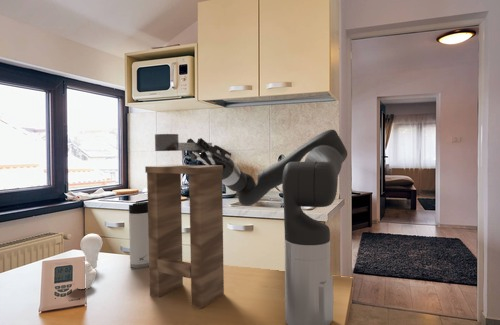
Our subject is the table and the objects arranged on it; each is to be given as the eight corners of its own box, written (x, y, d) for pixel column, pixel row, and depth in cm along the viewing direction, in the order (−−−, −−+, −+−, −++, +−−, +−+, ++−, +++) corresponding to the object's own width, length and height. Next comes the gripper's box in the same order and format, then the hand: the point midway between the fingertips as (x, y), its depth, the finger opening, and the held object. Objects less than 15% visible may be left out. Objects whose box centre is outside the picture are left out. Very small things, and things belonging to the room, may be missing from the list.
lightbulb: (107, 268, 106) (106, 232, 106) (89, 274, 101) (87, 237, 101) (95, 265, 109) (94, 230, 109) (76, 271, 104) (75, 234, 104)
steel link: (215, 149, 99) (215, 135, 99) (167, 150, 82) (167, 133, 82) (199, 149, 102) (199, 136, 102) (150, 151, 85) (149, 134, 84)
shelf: (224, 293, 87) (223, 165, 86) (200, 309, 78) (198, 167, 77) (175, 282, 95) (173, 164, 93) (148, 295, 86) (145, 166, 85)
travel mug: (146, 268, 105) (144, 203, 105) (126, 267, 107) (124, 202, 106) (155, 262, 112) (154, 200, 111) (136, 261, 113) (135, 199, 112)
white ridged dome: (99, 282, 95) (99, 257, 95) (92, 291, 89) (91, 264, 89) (76, 283, 94) (75, 258, 94) (66, 293, 88) (66, 265, 88)
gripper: (208, 158, 113) (177, 130, 100) (246, 158, 106) (218, 128, 93) (202, 179, 110) (169, 153, 97) (240, 181, 103) (210, 153, 90)
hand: (193, 141), depth 95 cm, fingers closed on steel link, 3 cm apart
